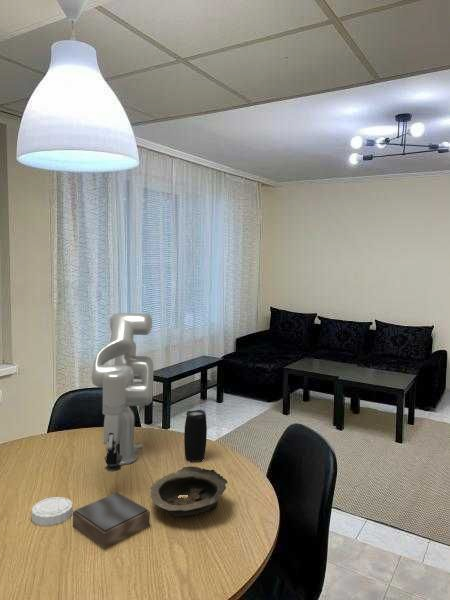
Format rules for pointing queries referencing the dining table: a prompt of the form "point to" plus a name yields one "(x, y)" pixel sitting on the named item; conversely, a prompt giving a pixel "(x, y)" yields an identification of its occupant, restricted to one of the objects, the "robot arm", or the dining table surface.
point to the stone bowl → (188, 491)
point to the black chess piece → (114, 466)
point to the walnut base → (111, 519)
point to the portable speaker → (195, 435)
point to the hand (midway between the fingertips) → (113, 458)
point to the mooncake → (52, 511)
